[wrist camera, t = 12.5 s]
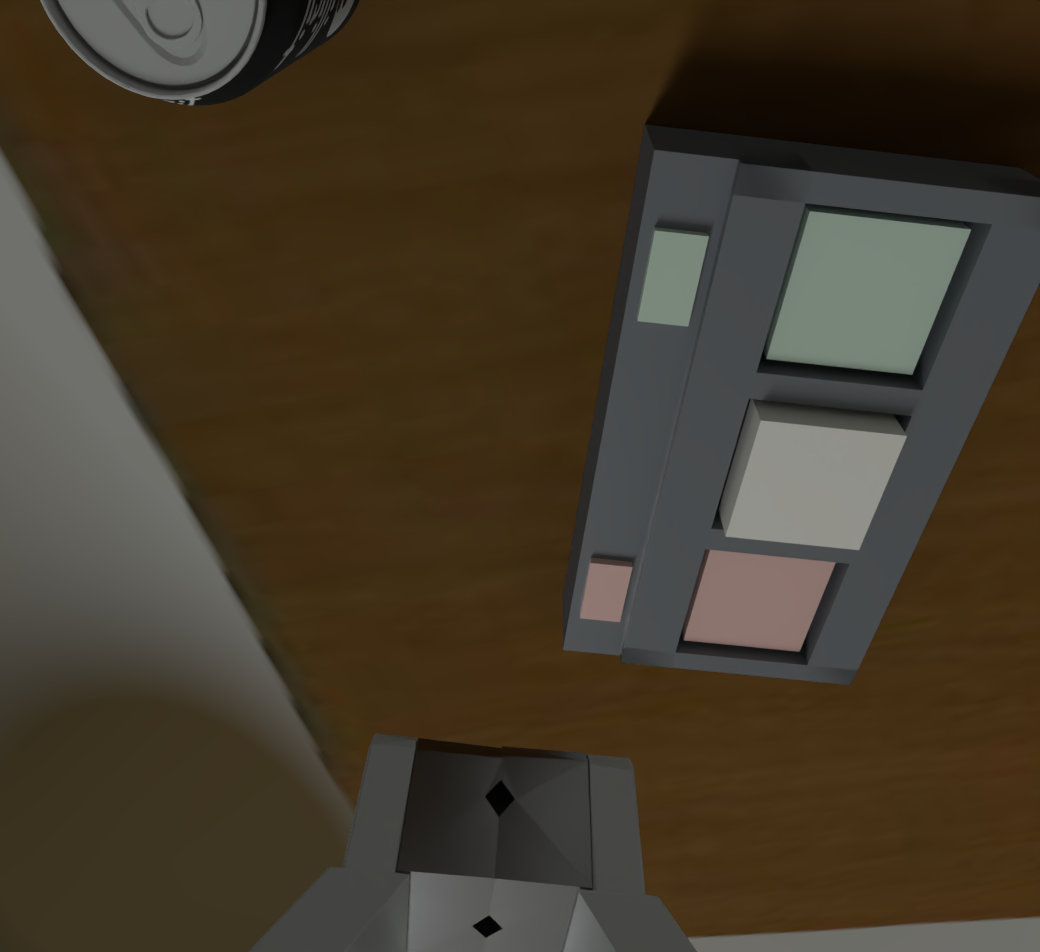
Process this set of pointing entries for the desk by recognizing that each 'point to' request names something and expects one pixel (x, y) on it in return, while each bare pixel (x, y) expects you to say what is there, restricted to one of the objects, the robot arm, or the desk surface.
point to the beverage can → (195, 41)
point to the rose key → (755, 600)
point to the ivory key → (809, 473)
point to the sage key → (863, 288)
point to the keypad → (771, 384)
